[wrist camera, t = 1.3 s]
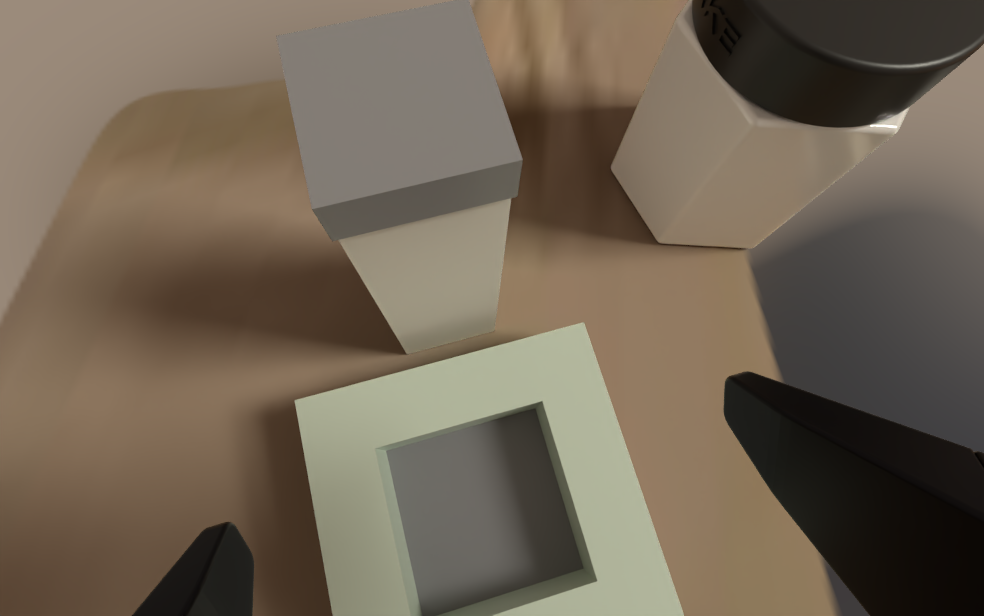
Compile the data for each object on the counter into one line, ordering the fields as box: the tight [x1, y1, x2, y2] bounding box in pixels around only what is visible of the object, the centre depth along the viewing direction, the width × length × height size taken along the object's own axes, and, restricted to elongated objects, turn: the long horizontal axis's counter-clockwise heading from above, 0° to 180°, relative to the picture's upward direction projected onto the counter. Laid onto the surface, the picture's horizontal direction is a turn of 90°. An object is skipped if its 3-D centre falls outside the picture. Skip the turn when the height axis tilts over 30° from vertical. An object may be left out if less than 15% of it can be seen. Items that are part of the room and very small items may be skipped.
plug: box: [276, 0, 523, 354], centre depth 18 cm, size 4×4×14 cm
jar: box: [611, 0, 984, 248], centre depth 21 cm, size 9×8×12 cm
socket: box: [295, 322, 684, 616], centre depth 20 cm, size 11×11×3 cm
